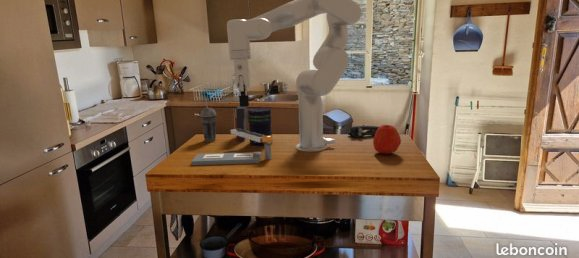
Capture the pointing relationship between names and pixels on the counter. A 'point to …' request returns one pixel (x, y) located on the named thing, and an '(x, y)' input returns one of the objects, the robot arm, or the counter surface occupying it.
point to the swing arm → (252, 136)
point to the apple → (386, 139)
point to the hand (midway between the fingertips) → (244, 106)
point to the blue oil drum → (259, 123)
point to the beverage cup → (208, 123)
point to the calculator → (241, 120)
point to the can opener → (358, 130)
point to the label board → (231, 157)
